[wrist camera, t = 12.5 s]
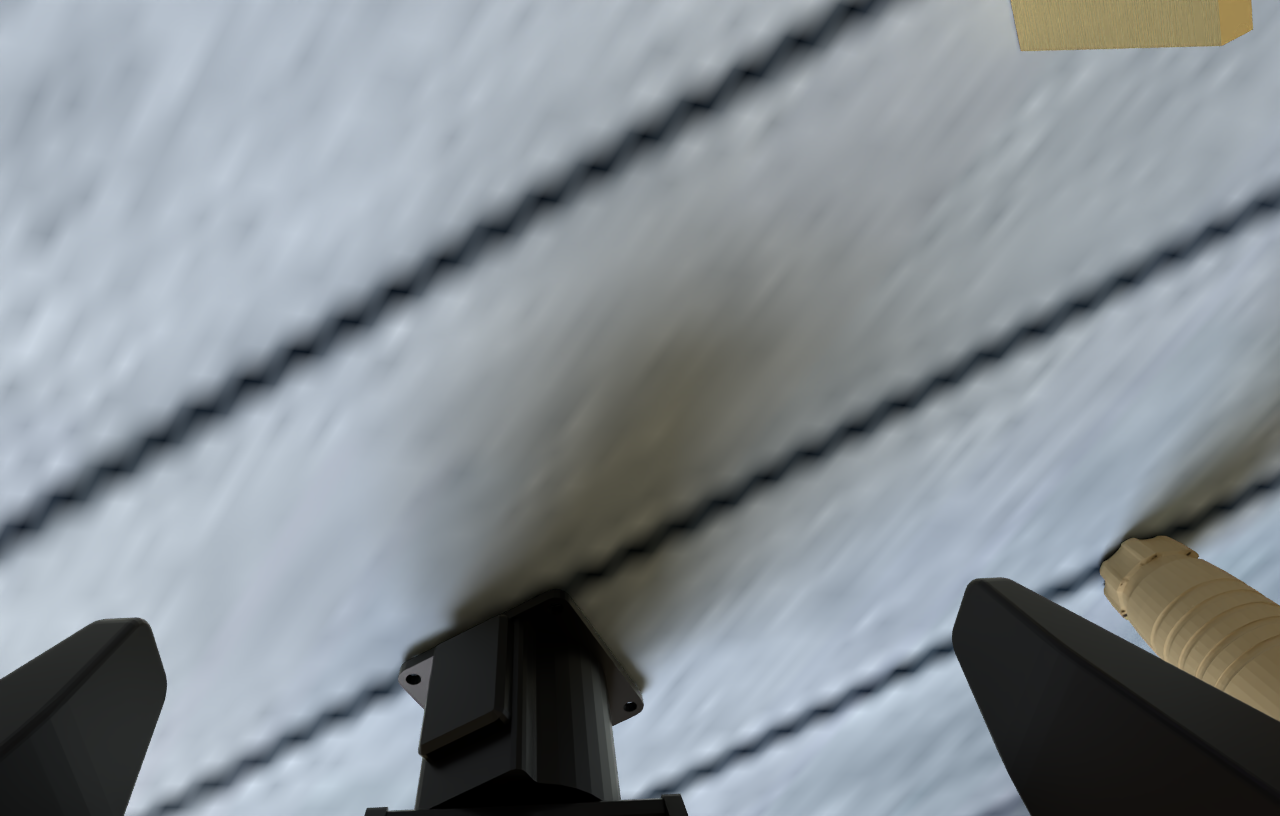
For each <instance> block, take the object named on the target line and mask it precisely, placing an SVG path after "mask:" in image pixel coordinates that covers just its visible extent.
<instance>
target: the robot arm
mask: <svg viewBox="0 0 1280 816" xmlns="http://www.w3.org/2000/svg"><path fill="white" fill-rule="evenodd" d="M554 603H559V604H561V605H560V606H558V607H552V606H550V605H551V604H554ZM952 643H953V647H954V651H955V654H956V656H957V659H958V661H959V663H960V665H961V668H962V670H963V672H964V675H965V677H966V679H967V682H968V684H969V686H970V688H971V691H972V693H973V695H974V698H975V700H976V702H977V704H978V707H979V709H980V711H981V714H982V716H983V718H984V720H985V723H986V725H987V727H988V730H989V732H990V734H991V736H992V739H993V741H994V743H995V746H996V748H997V750H998V753H999V755H1000V757H1001V759H1002V761H1003V763H1004V765H1005V767H1006V770H1007V772H1008V774H1009V776H1010V778H1011V780H1012V781H1013V783H1014V785H1015V787H1016V789H1017V791H1018V793H1019V795H1020V797H1021V799H1022V800H1023V802H1024V804H1025V806H1026V808H1027V809H1028V811H1029V813H1030V815H1031V816H1280V721H1278V720H1276V719H1274V718H1272V717H1270V716H1269V715H1267V714H1265V713H1263V712H1261V711H1259V710H1257V709H1255V708H1253V707H1251V706H1250V705H1248V704H1246V703H1244V702H1242V701H1240V700H1238V699H1236V698H1234V697H1232V696H1231V695H1229V694H1227V693H1225V692H1223V691H1221V690H1219V689H1217V688H1215V687H1214V686H1212V685H1210V684H1208V683H1206V682H1204V681H1202V680H1200V679H1198V678H1196V677H1195V676H1193V675H1191V674H1189V673H1187V672H1185V671H1183V670H1181V669H1179V668H1178V667H1176V666H1174V665H1172V664H1170V663H1168V662H1166V661H1164V660H1162V659H1160V658H1159V657H1157V656H1155V655H1153V654H1151V653H1149V652H1147V651H1145V650H1143V649H1141V648H1140V647H1138V646H1136V645H1134V644H1132V643H1130V642H1128V641H1126V640H1124V639H1123V638H1121V637H1119V636H1117V635H1115V634H1113V633H1111V632H1109V631H1107V630H1105V629H1104V628H1102V627H1100V626H1098V625H1096V624H1094V623H1092V622H1090V621H1088V620H1087V619H1085V618H1083V617H1081V616H1079V615H1077V614H1075V613H1073V612H1071V611H1069V610H1068V609H1066V608H1064V607H1062V606H1060V605H1058V604H1056V603H1054V602H1052V601H1051V600H1049V599H1047V598H1045V597H1043V596H1041V595H1039V594H1037V593H1035V592H1033V591H1032V590H1030V589H1028V588H1026V587H1024V586H1022V585H1020V584H1018V583H1016V582H1014V581H1013V580H1010V579H1008V578H1002V577H997V578H978V579H975V580H972V581H971V582H970V583H969V584H968V585H967V588H966V590H965V593H964V596H963V599H962V602H961V605H960V608H959V612H958V615H957V618H956V621H955V624H954V627H953V631H952ZM410 674H417V675H418V676H412V675H410ZM398 682H399V684H400V685H401V686H402V687H403V688H404V689H405V690H406V691H407V692H408V693H409V694H410V696H411V697H412V698H413V699H414V700H415V701H416V702H417V703H418V704H419V705H420V706H421V707H422V708H423V709H424V716H423V722H422V729H421V735H420V741H419V747H418V754H419V755H420V756H421V757H422V764H421V770H420V777H419V783H418V789H417V796H416V802H415V809H414V810H394V811H388V807H379V808H367V809H366V812H365V815H364V816H688V813H687V811H686V808H685V805H684V802H683V800H682V797H681V795H680V794H665V795H661V798H654V799H632V800H621V797H620V788H619V780H618V772H617V764H616V756H615V748H614V739H613V731H612V726H614V725H616V724H618V723H620V722H622V721H624V720H627V719H629V718H631V717H633V716H635V715H637V714H638V713H640V712H641V711H642V709H643V706H644V703H643V698H642V694H641V692H640V691H639V689H638V688H637V687H636V685H635V684H634V683H633V681H632V680H631V679H630V677H629V676H628V674H627V673H626V672H625V670H624V669H623V668H622V666H621V665H620V664H619V662H618V661H617V660H616V658H615V657H614V656H613V654H612V653H611V652H610V650H609V649H608V647H607V646H606V645H605V643H604V642H603V641H602V639H601V638H600V637H599V635H598V634H597V633H596V631H595V630H594V629H593V627H592V626H591V624H590V623H589V622H588V620H587V619H586V618H585V616H584V615H583V614H582V612H581V611H580V610H579V608H578V607H577V606H576V604H575V603H574V601H573V600H572V599H571V597H570V596H569V595H568V594H567V593H566V592H565V591H562V590H557V589H553V590H550V591H547V592H545V593H543V594H541V595H539V596H537V597H535V598H533V599H531V600H529V601H527V602H525V603H523V604H521V605H519V606H517V607H515V608H513V609H511V610H509V611H507V612H505V613H503V614H501V615H498V616H495V617H493V618H491V619H489V620H487V621H485V622H483V623H481V624H479V625H477V626H475V627H473V628H471V629H469V630H467V631H465V632H463V633H461V634H459V635H457V636H455V637H453V638H451V639H449V640H447V641H445V642H443V643H441V644H439V645H437V646H436V647H435V648H433V649H431V650H429V651H427V652H424V653H422V654H420V655H418V656H416V657H414V658H412V659H410V660H408V661H406V662H405V663H404V664H402V666H401V668H400V672H399V676H398ZM166 690H167V680H166V674H165V671H164V668H163V664H162V661H161V658H160V655H159V651H158V648H157V645H156V642H155V638H154V635H153V632H152V629H151V627H150V625H149V624H148V623H147V621H145V620H144V619H141V618H116V619H103V620H98V621H95V622H93V623H91V624H89V625H87V626H86V627H84V628H83V629H81V630H79V631H78V632H76V633H75V634H73V635H71V636H70V637H68V638H66V639H65V640H63V641H62V642H60V643H58V644H57V645H55V646H54V647H52V648H50V649H49V650H47V651H45V652H44V653H42V654H41V655H39V656H37V657H36V658H34V659H33V660H31V661H29V662H28V663H26V664H24V665H23V666H21V667H20V668H18V669H16V670H15V671H13V672H12V673H10V674H8V675H7V676H5V677H3V678H2V679H0V816H124V814H125V811H126V808H127V805H128V803H129V800H130V797H131V794H132V791H133V789H134V786H135V783H136V780H137V777H138V774H139V772H140V769H141V766H142V763H143V760H144V758H145V755H146V752H147V749H148V746H149V743H150V741H151V738H152V735H153V732H154V729H155V726H156V724H157V721H158V718H159V715H160V712H161V710H162V707H163V704H164V701H165V696H166ZM628 702H631V703H628Z"/></svg>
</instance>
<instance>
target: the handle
mask: <svg viewBox="0 0 1280 816" xmlns="http://www.w3.org/2000/svg"><path fill="white" fill-rule="evenodd" d="M1198 557H1199V555H1198V554H1197V553H1196V552H1195V551H1193V550H1192V549H1190V548H1188V547H1187V546H1185V545H1183V544H1182V543H1180V542H1178V541H1176V540H1174V539H1172V538H1170V537H1167V536H1156V537H1155V538H1151V539H1145V540H1138V539H1136V538H1130V539H1128V540H1126V541H1124V542H1123V543H1122V544H1121V547H1120V548H1119V550H1118V551H1117V552H1116V553H1115V554H1114V555H1113V556H1112V557H1111V558H1109V559H1108V560H1106V561H1104V562H1103V563H1102V565H1101V567H1100V575H1101V576H1102V577H1103V578H1104V579H1105V588H1104V594H1105V596H1106V597H1107V599H1108V600H1109V601H1110V603H1111V604H1112V606H1113V607H1114V608H1115V609H1116V610H1117V611H1118V612H1119V613H1120V614H1121V616H1122V617H1123V618H1125V619H1127V620H1129V621H1130V623H1131V624H1132V625H1133V627H1134V628H1135V629H1136V631H1137V632H1138V633H1139V635H1140V636H1141V637H1142V638H1143V639H1144V640H1145V642H1146V643H1147V644H1148V645H1149V646H1150V647H1151V648H1152V650H1153V651H1154V652H1155V653H1156V654H1157V655H1158V656H1159V657H1160V658H1161V659H1162V660H1164V661H1166V662H1168V663H1170V664H1172V665H1174V666H1176V667H1178V668H1179V669H1181V670H1183V671H1185V672H1187V673H1189V674H1191V675H1193V676H1195V677H1196V678H1198V679H1200V680H1202V681H1204V682H1206V683H1208V684H1210V685H1212V686H1214V687H1215V688H1217V689H1219V690H1221V691H1223V692H1225V693H1227V694H1229V695H1231V696H1232V697H1234V698H1236V699H1238V700H1240V701H1242V702H1244V703H1246V704H1248V705H1250V706H1251V707H1253V708H1255V709H1257V710H1259V711H1261V712H1263V713H1265V714H1267V715H1269V716H1270V717H1272V718H1274V719H1276V720H1278V721H1280V606H1279V605H1278V604H1276V603H1275V602H1273V601H1272V600H1270V599H1268V598H1266V597H1265V596H1264V595H1262V594H1261V593H1259V592H1258V591H1256V590H1255V589H1253V588H1252V587H1250V586H1248V585H1247V584H1245V583H1244V582H1242V581H1241V580H1239V579H1237V578H1236V577H1234V576H1232V575H1231V574H1229V573H1227V572H1226V571H1224V570H1222V569H1220V568H1218V567H1216V566H1214V565H1212V564H1211V563H1209V562H1207V561H1205V560H1203V559H1198Z"/></svg>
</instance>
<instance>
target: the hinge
mask: <svg viewBox="0 0 1280 816" xmlns="http://www.w3.org/2000/svg"><path fill="white" fill-rule="evenodd" d="M1011 5H1012V10H1013V15H1014V20H1015V25H1016V30H1017V34H1018V39H1019V44H1020V49H1021V51H1047V50H1085V49H1123V48H1160V47H1198V46H1222V45H1224V44H1226V43H1228V42H1230V41H1232V40H1234V39H1236V38H1238V37H1240V36H1241V35H1243V34H1245V33H1247V32H1249V31H1251V30H1253V23H1252V6H1251V0H1011Z"/></svg>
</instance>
